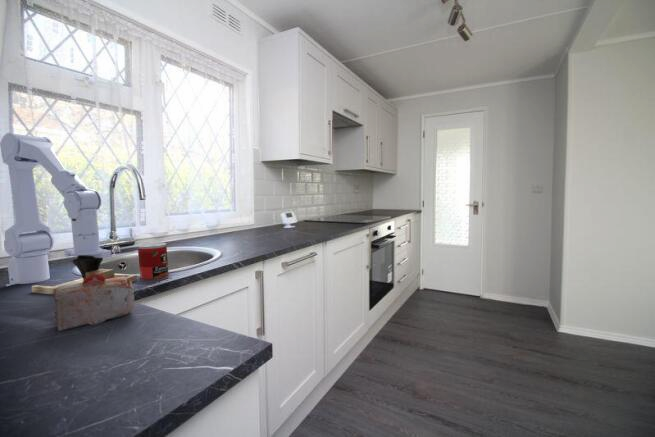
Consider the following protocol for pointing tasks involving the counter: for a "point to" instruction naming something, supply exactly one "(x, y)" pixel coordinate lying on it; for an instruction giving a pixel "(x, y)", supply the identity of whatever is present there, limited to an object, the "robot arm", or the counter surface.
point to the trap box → (50, 289)
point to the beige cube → (102, 273)
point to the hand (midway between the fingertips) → (90, 282)
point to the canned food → (153, 260)
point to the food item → (92, 301)
